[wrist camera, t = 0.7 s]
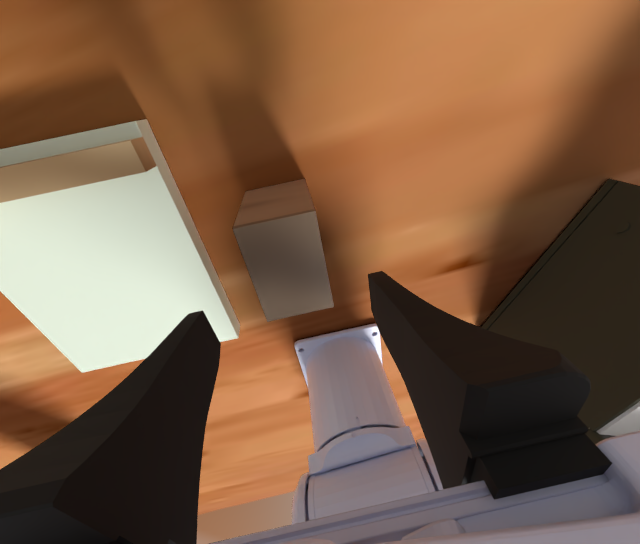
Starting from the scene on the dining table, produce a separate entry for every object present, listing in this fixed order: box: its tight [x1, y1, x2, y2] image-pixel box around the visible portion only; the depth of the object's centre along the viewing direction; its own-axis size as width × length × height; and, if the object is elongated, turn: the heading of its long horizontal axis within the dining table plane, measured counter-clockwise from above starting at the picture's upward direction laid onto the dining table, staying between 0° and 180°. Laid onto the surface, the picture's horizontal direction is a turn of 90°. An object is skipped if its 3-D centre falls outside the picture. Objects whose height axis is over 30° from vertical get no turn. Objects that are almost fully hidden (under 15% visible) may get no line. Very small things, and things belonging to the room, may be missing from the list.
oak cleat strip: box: [0, 137, 156, 203], centre depth 15 cm, size 2×13×2 cm, turn 101°
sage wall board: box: [0, 119, 240, 372], centre depth 19 cm, size 16×13×2 cm
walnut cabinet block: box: [233, 179, 334, 322], centre depth 17 cm, size 6×4×6 cm, turn 10°
